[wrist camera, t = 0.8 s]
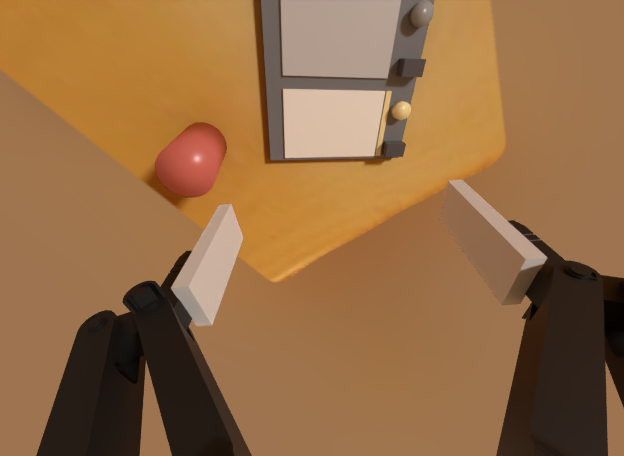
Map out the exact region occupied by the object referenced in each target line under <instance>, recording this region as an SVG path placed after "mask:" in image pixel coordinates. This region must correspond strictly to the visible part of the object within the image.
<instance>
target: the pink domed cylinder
mask: <svg viewBox="0 0 624 456" xmlns="http://www.w3.org/2000/svg"><path fill="white" fill-rule="evenodd" d="M226 149H227V146H226V141H225V138H224V136H223V135H222V133H221V132H220V131H219V130H218V129H217V128H215V127H214V126H212V125H210V124H207V123H194V124H192V125H190V126H189V127H187V128H186V129H185V130H184V131H183V132H182V133H181V134H180V135H179V136H178V137H176V138H175V139H174V140H173V141H172V142H171V143H170V144H169V145H168V146H167V147H166V148H165V149H164V150H162V151H161V152H160V154H159V155H158V157H157V159H156V163H155V170H156V174H157V176H158V178H159V180H160V181H161V183H162V184H163V185H164V186H165V187H166V188H167V189H168V190H170V191H171V192H173V193H175V194H177V195H180V196H183V197H198V196H202V195H204V194H206V193H207V192H208V191H209V190H210V189H211V188H212V186H213V184H214V182H215V179H216V177H217V174H218V172H219V169H220V166H221V164H222V161H223V159H224V156H225V153H226Z"/></svg>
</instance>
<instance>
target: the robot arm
mask: <svg viewBox="0 0 624 456" xmlns="http://www.w3.org/2000/svg"><path fill="white" fill-rule="evenodd" d="M440 221H441V222H442V224H443V225H444V226H445V227H446V229H447V230H448V232H449V233H450V234H451V236H452V237H453V239H454V240H455V241H456V243H457V244H458V245H459V247H460V248H461V249H462V251H463V253H464V254H465V255H466V257H467V258H468V259H469V261H470V262H471V264H472V265H473V266H474V268H475V269H476V270H477V272H478V273H479V275H480V276H481V277H482V279H483V280H484V282H485V283H486V284H487V286H488V287H489V288H490V290H491V291H492V293H493V294H494V295H495V297H496V298H497V299H498V301H499V302H500V304H501V305H512V304H520V303H521V302H522V300H523V298H524V297H525V295H526V296H527V297H528V298H529V299H530V300H531V301H532V303H531V304H530V306H529V308H528V309H527V311H526V312H525V314H524V315H523V317H522V318H524V319H526V322H525V326H524V331H523V336H522V340H521V345H520V350H519V354H518V359H517V363H516V368H515V372H514V377H513V382H512V386H511V391H510V396H509V400H508V404H507V409H506V414H505V418H504V423H503V427H502V432H501V437H500V441H499V446H498V450H497V455H496V456H608V444H607V410H606V409H607V407H606V371H605V361H606V363H607V366H608V368H609V371H610V373H611V376H612V379H613V381H614V384H615V386H616V389H617V392H618V394H619V397H620V399H621V402H622V404H623V407H624V278H618V277H610V276H603V275H600V274H599V273H598V272H597V271H596V270H594V269H592V268H590V267H589V266H587V265H584V264H581V263H578V262H574V261H565V260H564V259H563V258H562V257H561V256H559V255H558V254H557V253H556V252H555V251H553V250H552V249H551V248H550V247H549V246H548V245H546V244H545V243H544V242H543V241H542V240H541V241H540V239H539V238H538V237H537V236H536V235H533V232H531V231H530V230H529V229H528V228H527V227H525V226H524V225H522V224H520V223H518V222H516V221H514V220H513V221H507V220H506V219H505V218H503V217H502V216H501V215H500V214H499V213H498V212H497V211H496V210H495V209H494V208H492V207H491V206H490V205H489V204H488V203H487V202H486V201H485V200H484V199H483V198H481V197H480V196H479V195H478V194H477V193H476V192H475V191H474V190H473V189H472V188H470V187H469V186H468V185H467V184H466V183H465V182H464V181H463V180H452V181H448V184H447V188H446V193H445V197H444V202H443V206H442V211H441V216H440ZM242 240H243V236H242V233H241V230H240V227H239V224H238V222H237V219H236V216H235V213H234V211H233V208H232V205H231V204H223V205H219V206H218V208H217V209H216V211H215V213H214V215H213V216H212V218H211V220H210V222H209V223H208V225H207V227H206V228H205V230H204V232H203V234H202V235H201V237H200V239H199V240H198V243H197V244H196V246H195V247H194V249H193V251H186V252H185V253H184V254H183V255H181V256H180V257H179V258H178V260H177V261H176V263H175V265H174V267H173V268H172V269H171V271H170V273H169V274H168V276H167V277H166V279H165V281H164V282H163V284H162V285H161V287H159V285H158V284H157V283H156V282H155V281H145V282H142V283H140V284H138V285H136V286H134V287H133V288H131V289H130V290H129V291H128V292H127V293H126V295H125V296H124V298H123V303H124V305H125V306H126V307H127V308H128V309H129V310H130V311H131V312H128V313H125V314H123V315H119V316H117V315H116V314H115V313H114V312H112V311H108V310H105V311H102V312H99V313H97V314H95V315H93V316H91V317H90V318H89V319H87V320H86V321H85V322H84V323H83V324H82V325H81V327H80V328H79V330H78V332H77V335H76V338H75V341H74V344H73V347H72V350H71V353H70V356H69V359H68V362H67V365H66V368H65V371H64V374H63V378H62V380H61V383H60V386H59V389H58V392H57V395H56V398H55V401H54V404H53V407H52V410H51V413H50V416H49V419H48V422H47V426H46V429H45V431H44V434H43V437H42V440H41V443H40V446H39V449H38V452H37V455H36V456H139V455H140V440H141V425H142V409H143V395H144V379H145V364H146V361H147V365H148V368H149V372H150V376H151V380H152V383H153V387H154V391H155V394H156V398H157V402H158V405H159V409H160V413H161V416H162V420H163V424H164V427H165V431H166V435H167V439H168V442H169V446H170V450H171V453H172V456H252V455H251V453H250V451H249V449H248V447H247V445H246V443H245V441H244V439H243V437H242V435H241V433H240V430H239V428H238V426H237V424H236V422H235V420H234V418H233V416H232V414H231V412H230V410H229V408H228V406H227V404H226V402H225V400H224V398H223V395H222V393H221V391H220V389H219V387H218V385H217V383H216V381H215V379H214V377H213V375H212V373H211V371H210V369H209V366H208V364H207V363H206V360H205V358H204V356H203V354H202V352H201V350H200V348H199V346H198V344H197V342H196V340H195V338H194V335H193V333H192V331H191V330H190V328H189V324H190V322H191V320H193V322H194V323H195V325H196V326H208V325H212V324H213V321H214V319H215V316H216V313H217V310H218V308H219V305H220V302H221V299H222V296H223V294H224V291H225V288H226V285H227V282H228V280H229V277H230V274H231V271H232V268H233V266H234V263H235V260H236V257H237V254H238V252H239V249H240V246H241V243H242Z"/></svg>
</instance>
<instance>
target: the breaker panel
mask: <svg viewBox="0 0 624 456" xmlns="http://www.w3.org/2000/svg"><path fill="white" fill-rule="evenodd" d="M433 3H434V0H261V12H262V28H263V45H264V61H265V77H266V94H267V110H268V127H269V143H270V159H271V160H315V159H362V158H398V157H403V154H404V150H405V145H406V144H405V143H404V142H402V139H403V134H404V130H405V125H406V121H407V117H408V116H409V114H410V112H411V106H410V104H411V99H412V95H413V90H414V86H415V82H416V77H422V74H423V70H424V66H425V62H426V59H421V55H422V51H423V47H424V42H425V38H426V34H427V29H428V25H429V22H430V21H431V19H432V16H433V12H434V8H433Z"/></svg>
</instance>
